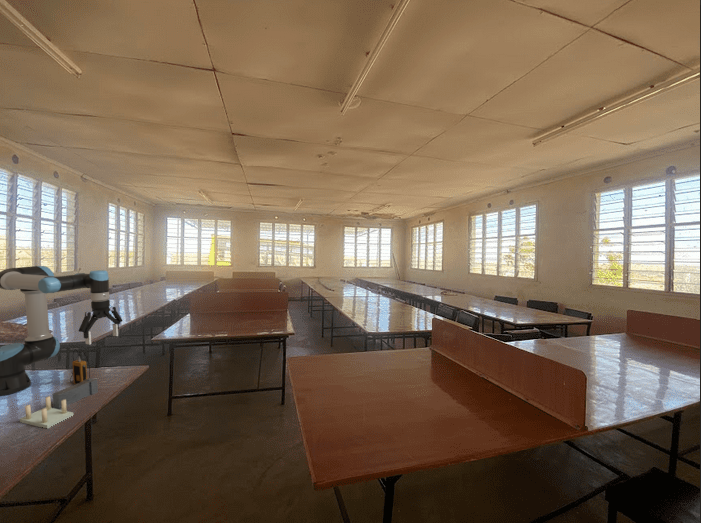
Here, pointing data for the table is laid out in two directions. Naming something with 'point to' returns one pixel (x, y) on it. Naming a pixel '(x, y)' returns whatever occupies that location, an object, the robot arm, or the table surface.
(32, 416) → the peg rack
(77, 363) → the multimeter
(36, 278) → the robot arm
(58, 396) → the long grey bar
